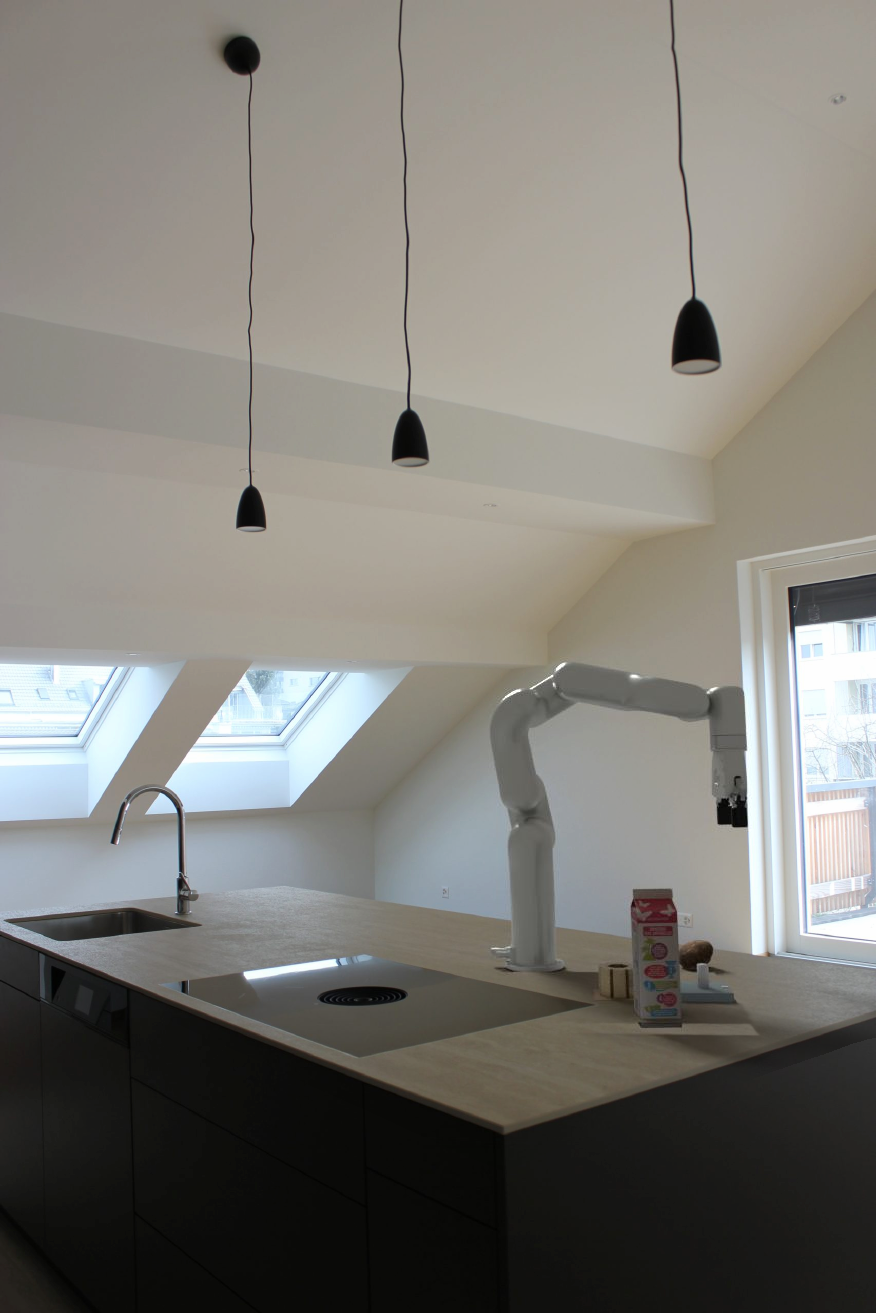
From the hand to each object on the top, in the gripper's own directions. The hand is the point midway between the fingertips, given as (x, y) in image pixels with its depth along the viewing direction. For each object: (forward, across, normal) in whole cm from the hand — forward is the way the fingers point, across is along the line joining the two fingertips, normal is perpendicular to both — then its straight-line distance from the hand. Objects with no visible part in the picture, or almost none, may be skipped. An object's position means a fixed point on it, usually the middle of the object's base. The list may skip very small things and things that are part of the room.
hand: (732, 825), depth 213 cm
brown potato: (+30, -4, -8) cm, 31 cm away
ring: (+28, +25, -30) cm, 48 cm away
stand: (+30, +25, -30) cm, 49 cm away
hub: (+30, +28, -16) cm, 44 cm away
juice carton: (+30, +40, -27) cm, 57 cm away
